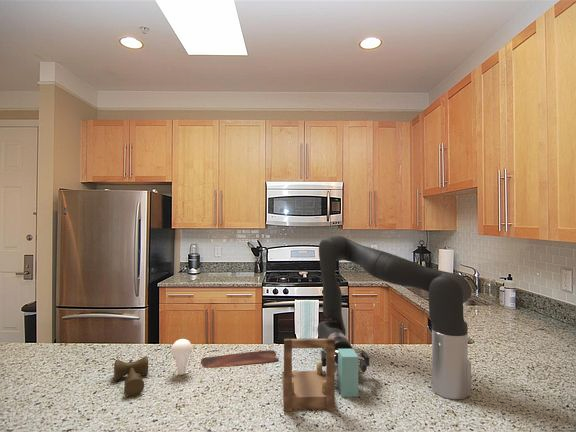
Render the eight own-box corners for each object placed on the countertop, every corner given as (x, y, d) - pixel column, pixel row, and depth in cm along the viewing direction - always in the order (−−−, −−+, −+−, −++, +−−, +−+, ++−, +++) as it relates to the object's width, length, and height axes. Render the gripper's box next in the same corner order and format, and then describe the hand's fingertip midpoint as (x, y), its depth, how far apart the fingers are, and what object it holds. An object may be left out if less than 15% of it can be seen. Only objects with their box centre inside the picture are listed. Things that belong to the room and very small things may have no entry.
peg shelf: (325, 380, 103) (325, 321, 103) (334, 410, 87) (334, 340, 87) (282, 381, 102) (282, 321, 103) (283, 411, 86) (284, 340, 86)
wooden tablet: (200, 366, 111) (201, 351, 120) (200, 373, 111) (201, 357, 120) (280, 359, 117) (274, 345, 126) (279, 365, 117) (274, 351, 126)
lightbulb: (185, 368, 111) (186, 334, 111) (195, 374, 107) (195, 339, 107) (167, 374, 107) (168, 339, 107) (177, 381, 102) (177, 344, 103)
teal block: (353, 386, 100) (353, 348, 100) (358, 396, 94) (358, 356, 94) (338, 386, 100) (338, 348, 100) (342, 397, 94) (342, 357, 94)
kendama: (114, 403, 91) (113, 371, 109) (152, 395, 96) (145, 366, 113) (115, 380, 91) (114, 352, 109) (153, 374, 96) (146, 348, 113)
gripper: (317, 336, 112) (324, 356, 96) (360, 335, 113) (374, 355, 97) (317, 358, 112) (324, 382, 96) (360, 358, 113) (374, 382, 97)
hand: (349, 369), depth 96 cm, fingers open, 8 cm apart
